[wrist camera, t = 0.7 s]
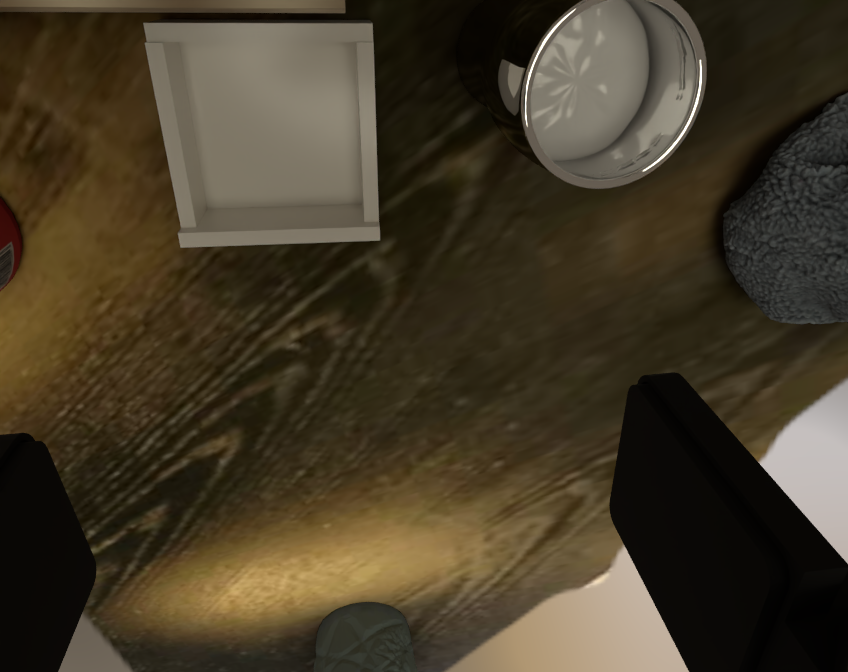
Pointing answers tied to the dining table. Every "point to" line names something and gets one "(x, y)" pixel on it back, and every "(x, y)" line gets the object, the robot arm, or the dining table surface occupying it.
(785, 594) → the robot arm
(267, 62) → the white open box
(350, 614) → the dark green cup
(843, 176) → the koala plush
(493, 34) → the beer glass
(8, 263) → the canned food
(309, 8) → the lever
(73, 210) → the dining table surface
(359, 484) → the dining table surface
